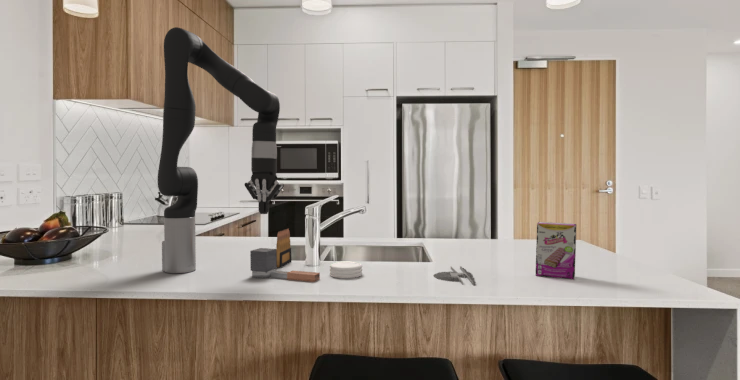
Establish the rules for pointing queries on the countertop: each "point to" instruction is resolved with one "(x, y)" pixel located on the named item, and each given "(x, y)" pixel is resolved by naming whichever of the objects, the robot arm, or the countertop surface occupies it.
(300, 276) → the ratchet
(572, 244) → the candy bar box
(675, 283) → the countertop surface
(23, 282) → the countertop surface
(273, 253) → the socket
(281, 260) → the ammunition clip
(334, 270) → the coaster
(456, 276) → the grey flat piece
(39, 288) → the countertop surface
